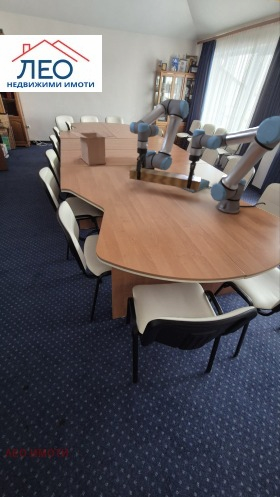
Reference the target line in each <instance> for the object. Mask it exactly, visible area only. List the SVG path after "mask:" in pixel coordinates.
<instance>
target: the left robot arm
mask: <svg viewBox="0 0 280 497" xmlns="http://www.w3.org/2000/svg"><path fill="white" fill-rule="evenodd" d="M189 110H190V109H189V102H188V100H183V99H174V98H168V99H164V100H163V101H161V102H159V103H158V104H157V105H156V106H155V108H153V109H152V110H151V111H150V112H148V113H147V114H145V116H143V117H142V118H140V119H139V120H138V121H132V122H131V123H130V124H129V131H130V133H131V134H134V135H137V144H136V147H137V148H136V153H137V154H139V155H138V156H137V158H136V167H137V168H136V171H137V180H136V181H141V180H140V178H141V168H145V169H151V170H160V171H167V170H169V169H170V168H171V166H172V164H173V158H172V153H171V152H172V149H173V147H174V146H173V145H174V143H175V140H176V137H177V133H178V130H179V127H180V125H181V123H182V122H183V121H184V119H186V118H187V117H188V116H189V115H188V114H189ZM165 116H168V118H169V123H168V124H167V128H166V131H165V135H164V138H163V141H162V144H161V147H160V149H159V150H158V151H156V150H153V149H151V150H148V146H149V138H154V137H157V135H159V131H160V130H159V126H158V125H156V124H154V123H155V122H156V121H157V120H159V119H160V118H163V117H165ZM211 187H212V186H210V185H209V186H207V187H206V188H209V189H211Z"/></svg>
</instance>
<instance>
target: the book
mask: <svg viewBox="0 0 280 497" xmlns="http://www.w3.org/2000/svg"><path fill="white" fill-rule="evenodd" d="M193 176H194V177H197V176H196V175H193ZM210 183H211V182H210V180H207V179H204V178H202V179H201V183H200V187H199V190H198V191H200V190H203V189H205V188H208V187H207V186H210ZM182 189H183V190H186V191H188V192H191V193H195V192H198V191H197V190H192V189H186V188H182Z"/></svg>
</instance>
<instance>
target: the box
mask: <svg viewBox="0 0 280 497" xmlns="http://www.w3.org/2000/svg"><path fill="white" fill-rule="evenodd" d="M70 133H71V134H72V135H74V136H75V137H77V138H79V144H80V153H81V160H83V162H85V163H86V165H87V166H95V165H97V166H98V165H106V163H107V162H106V158H107V157H106V138H113V137H114V136H113V135H111V134H109V133H108V132H105V131H98V132H96V131H95V130H92V129H91V130H77V132H76V131H70Z"/></svg>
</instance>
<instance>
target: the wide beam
mask: <svg viewBox="0 0 280 497" xmlns="http://www.w3.org/2000/svg"><path fill="white" fill-rule="evenodd" d="M136 168H137V166H133V167H131V168H130V169H129V179H131V180H136V181H138V180H137V171H136ZM194 176H195V175H193V176H192V182H191V187H190V189H192V190H197V191H196V192H198V191H200V190H199V187H200V183H201V179H203V178H202V177H200V176H196V177H194ZM188 177H189V174H188V175H187V174H181V173H180V174H179V173H176V172H169V171H165V170H158V169H155V170H151V169H145V168H141V178H140V180H139V181H141V182H147V183H153V184H158V185H163V186H170V187H175V188H181V189H183V188H186V189H188V188H187V182H188V180H187V178H188ZM186 189H185V190H186Z"/></svg>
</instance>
